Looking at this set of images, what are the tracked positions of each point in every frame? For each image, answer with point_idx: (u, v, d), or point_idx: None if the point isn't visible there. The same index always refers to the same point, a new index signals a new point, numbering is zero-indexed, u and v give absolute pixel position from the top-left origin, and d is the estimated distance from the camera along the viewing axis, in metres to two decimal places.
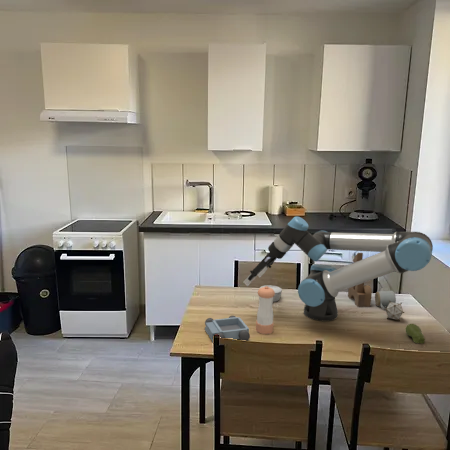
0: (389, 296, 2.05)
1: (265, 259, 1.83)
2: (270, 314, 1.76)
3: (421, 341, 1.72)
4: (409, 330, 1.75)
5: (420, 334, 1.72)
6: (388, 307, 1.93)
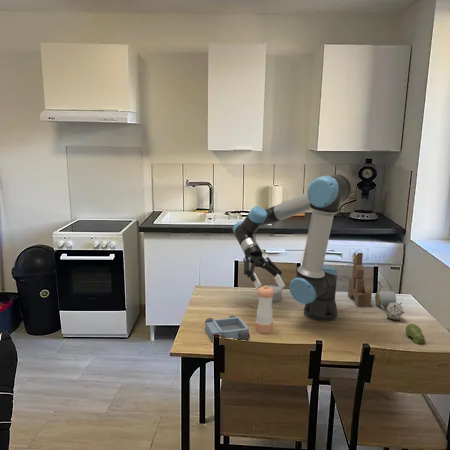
0: (389, 297, 2.05)
1: (244, 259, 1.89)
2: (270, 314, 1.76)
3: (421, 341, 1.71)
4: (410, 330, 1.75)
5: (420, 334, 1.72)
6: (388, 307, 1.93)
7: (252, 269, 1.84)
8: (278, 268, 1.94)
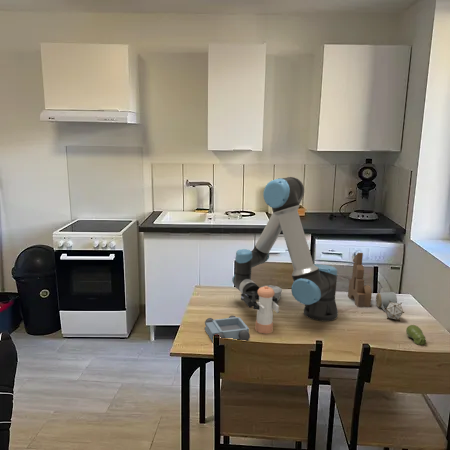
0: (390, 298, 2.03)
1: (242, 298, 1.86)
2: (270, 314, 1.76)
3: (422, 342, 1.71)
4: (411, 331, 1.74)
5: (421, 335, 1.71)
6: (388, 307, 1.93)
7: (254, 300, 1.80)
8: (275, 297, 1.84)
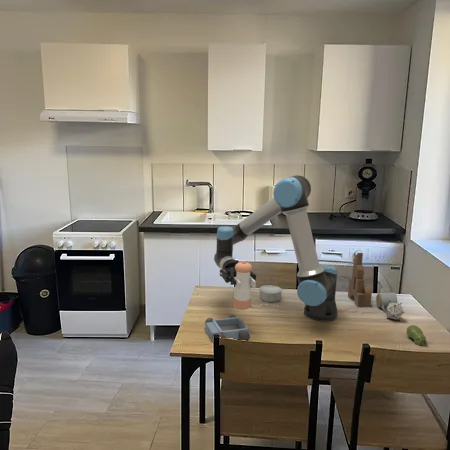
0: (391, 298, 2.03)
1: (220, 274, 1.82)
2: (247, 289, 1.73)
3: (423, 343, 1.70)
4: (411, 332, 1.74)
5: (422, 336, 1.70)
6: (388, 307, 1.93)
7: (232, 275, 1.76)
8: None
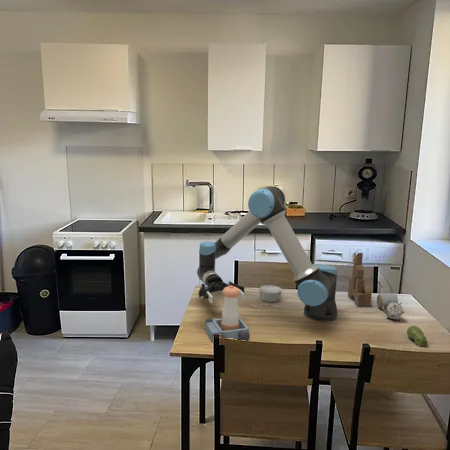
0: (391, 299, 2.02)
1: None
2: (235, 314, 1.72)
3: (424, 344, 1.70)
4: (412, 333, 1.73)
5: (423, 337, 1.70)
6: (388, 307, 1.93)
7: (206, 290, 1.82)
8: None
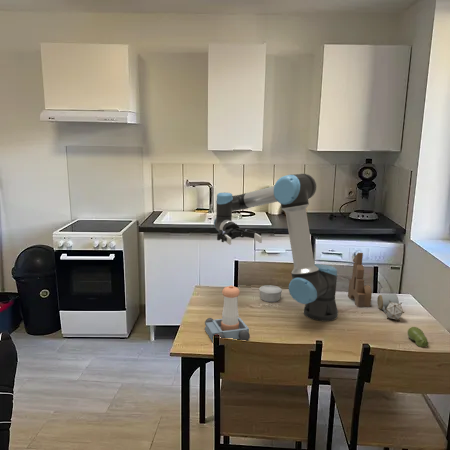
0: (392, 300, 2.01)
1: None
2: (235, 314, 1.72)
3: (425, 345, 1.69)
4: (412, 334, 1.72)
5: (424, 337, 1.69)
6: (388, 307, 1.93)
7: (224, 233, 1.87)
8: (257, 231, 1.93)
